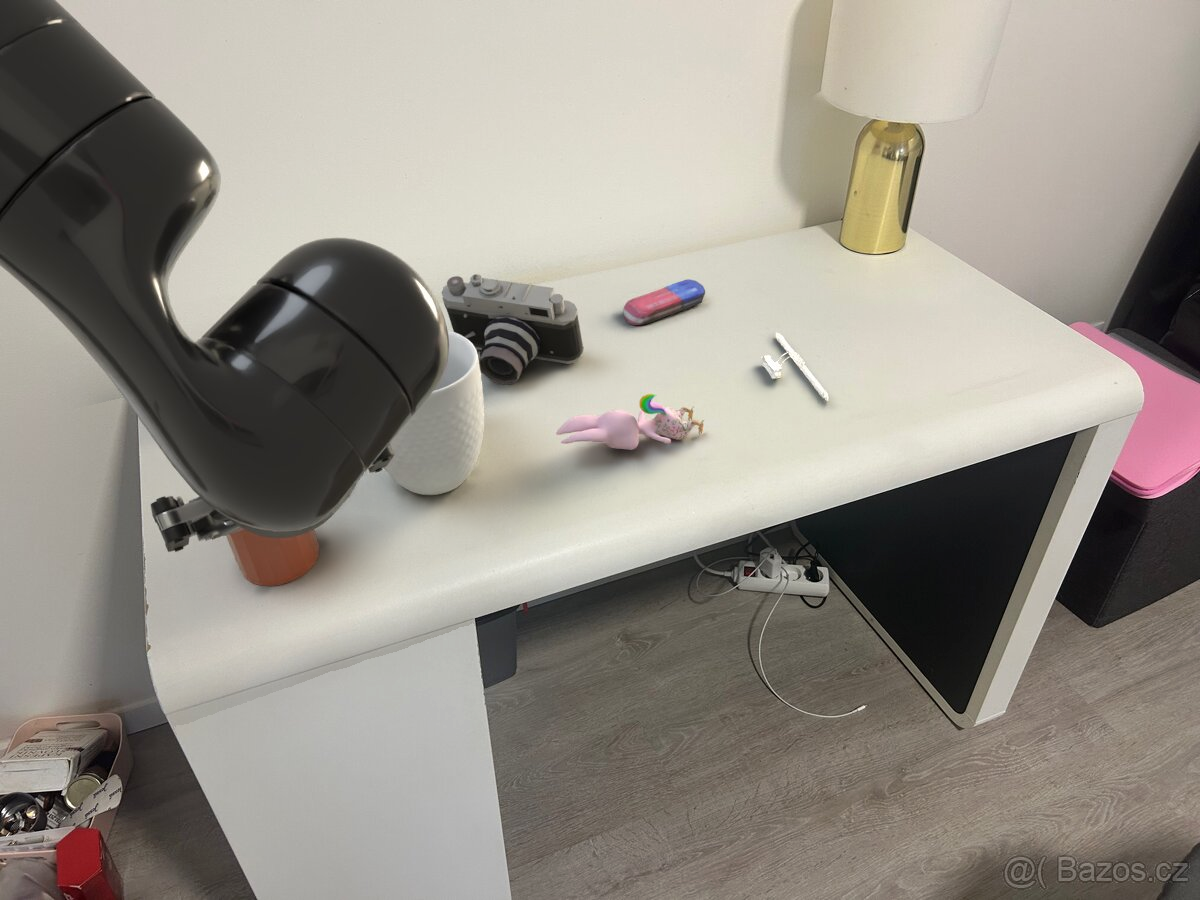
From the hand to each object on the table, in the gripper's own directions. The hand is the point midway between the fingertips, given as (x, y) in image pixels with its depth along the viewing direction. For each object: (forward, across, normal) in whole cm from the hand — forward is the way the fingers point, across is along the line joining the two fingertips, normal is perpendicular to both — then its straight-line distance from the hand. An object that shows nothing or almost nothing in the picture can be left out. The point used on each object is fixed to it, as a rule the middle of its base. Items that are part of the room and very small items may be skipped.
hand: (272, 499), depth 59 cm
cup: (+16, 0, +3) cm, 16 cm away
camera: (+26, -31, -7) cm, 41 cm away
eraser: (+26, -53, -7) cm, 60 cm away
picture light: (+13, -56, +6) cm, 58 cm away
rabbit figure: (+13, -34, +7) cm, 37 cm away
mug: (+18, -17, +1) cm, 25 cm away
